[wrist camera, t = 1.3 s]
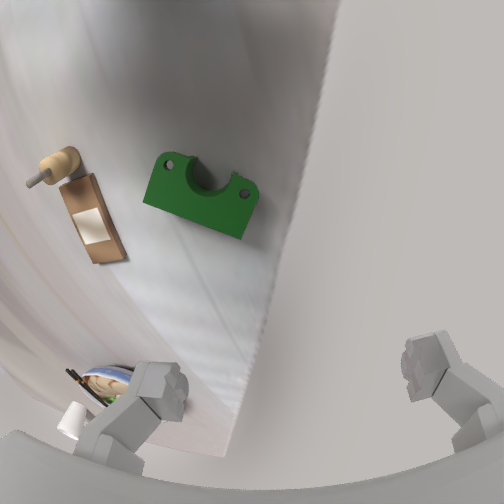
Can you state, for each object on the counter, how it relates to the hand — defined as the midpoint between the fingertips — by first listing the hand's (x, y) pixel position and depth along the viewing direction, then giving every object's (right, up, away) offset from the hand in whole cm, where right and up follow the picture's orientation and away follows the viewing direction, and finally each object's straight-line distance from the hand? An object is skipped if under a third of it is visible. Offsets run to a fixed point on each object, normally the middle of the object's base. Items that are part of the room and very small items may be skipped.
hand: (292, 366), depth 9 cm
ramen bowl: (-30, -26, +51) cm, 64 cm away
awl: (-26, +16, +22) cm, 38 cm away
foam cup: (-64, -52, +70) cm, 107 cm away
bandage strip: (-24, +8, +27) cm, 37 cm away
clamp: (-6, +12, +24) cm, 28 cm away
